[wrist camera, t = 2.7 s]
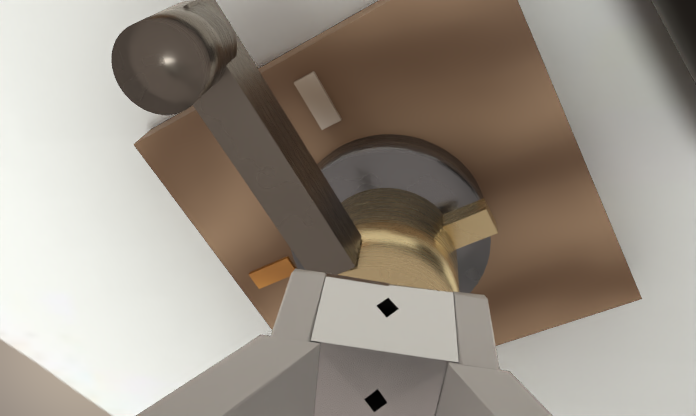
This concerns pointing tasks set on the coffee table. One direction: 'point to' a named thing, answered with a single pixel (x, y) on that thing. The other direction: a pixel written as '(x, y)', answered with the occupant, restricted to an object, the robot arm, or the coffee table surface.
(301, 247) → the crank handle
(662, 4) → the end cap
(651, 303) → the coffee table surface
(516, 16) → the base plate
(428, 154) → the post collar
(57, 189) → the coffee table surface
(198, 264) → the coffee table surface
